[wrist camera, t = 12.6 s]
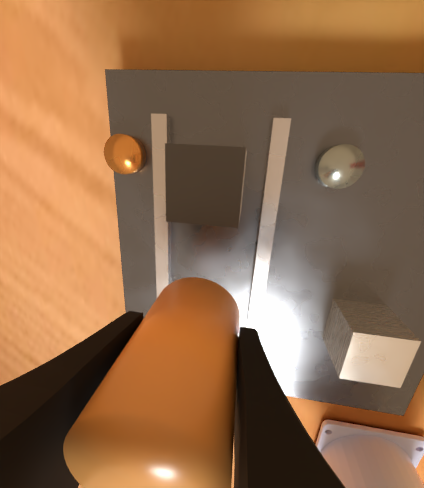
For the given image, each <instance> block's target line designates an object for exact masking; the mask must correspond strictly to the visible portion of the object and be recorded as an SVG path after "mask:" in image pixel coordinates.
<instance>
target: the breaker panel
mask: <svg viewBox="0 0 424 488" xmlns="http://www.w3.org/2000/svg"><path fill="white" fill-rule="evenodd" d="M105 75H106V86H107V98H108V110H109V121H110V133H111V137H110V138H109V139H108V140H107V142H106V144H105V147H104V156H105V159H106V162H107V164H108V165H109V167H110V168H111V169H112V170H114V180H115V192H116V204H117V215H118V227H119V239H120V251H121V262H122V274H123V286H124V297H125V309H126V313H127V312H128V311H134V312H141V313H143V319H144V317H145V316H146V314H147V313H148V311H149V310H150V308H151V307H152V305H153V304H154V302H155V301H156V299H157V298H158V296H159V295H160V293H161V292H162V290H163V289H164V288H165V287H166V286H167V285H169V284H170V283H172V282H174V281H176V280H179V279H182V278H187V277H198V278H204V279H207V280H211V281H213V282H215V283H217V284H219V285H221V286H222V287H223V288H225V289H226V290H227V291H228V292H229V293H230V294H231V295H232V297H233V298H234V300H235V301H236V303H237V305H238V308H239V312H240V326H241V327H248V328H255V329H256V330H257V331H258V334H259V337H260V340H261V343H262V346H263V348H264V351H265V353H266V356H267V358H268V361H269V363H270V365H271V367H272V369H273V371H274V374H275V376H276V378H277V380H278V382H279V384H280V386H281V388H282V390H283V391H284V393H285V395H286V396H291V397H297V398H303V399H309V400H314V401H320V402H326V403H332V404H338V405H343V406H349V407H355V408H361V409H367V410H373V411H378V412H384V413H390V414H396V415H402V416H404V414H405V412H406V409H407V407H408V405H409V403H410V401H411V399H412V397H413V395H414V393H415V391H416V388H417V386H418V384H419V382H420V380H421V378H422V376H423V374H424V73H369V72H282V71H195V70H108V69H105ZM165 143H171V144H191V145H211V146H231V147H246V150H247V155H246V165H245V176H244V186H243V197H242V207H241V214H240V220H239V227H238V228H232V227H221V226H210V225H199V224H188V223H177V222H166V186H165ZM239 331H240V330H239Z"/></svg>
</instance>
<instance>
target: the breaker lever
mask: <svg viewBox="0 0 424 488" xmlns="http://www.w3.org/2000/svg"><path fill="white" fill-rule="evenodd" d="M246 155H247V150H246V147H231V146H211V145H191V144H171V143H165V186H166V222H177V223H188V224H199V225H210V226H221V227H232V228H238V227H239V220H240V214H241V207H242V197H243V186H244V176H245V165H246Z"/></svg>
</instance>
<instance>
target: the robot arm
mask: <svg viewBox="0 0 424 488" xmlns="http://www.w3.org/2000/svg"><path fill="white" fill-rule="evenodd" d="M142 320H143V313H141V312H134V311H128V312H127V313H125V314H123V315H122V316H120V317H119V318H117V319H116V320H114V321H113V322H111V323H110V324H108V325H107V326H105V327H104V328H102V329H101V330H99V331H98V332H96V333H94V334H93V335H91V336H90V337H88V338H87V339H85V340H84V341H82V342H80V343H79V344H77V345H75V346H74V347H72V348H70V349H69V350H67V351H65V352H64V353H62V354H60V355H59V356H57V357H55V358H54V359H52V360H50V361H48V362H46V363H45V364H43V365H41V366H39V367H37V368H35V369H33V370H31V371H29V372H27V373H26V374H24V375H22V376H20V377H18V378H16V379H14V380H12V381H10V382H7V383H5V384H3V385H1V386H0V488H78V486H79V483H78V482H77V480H76V479H75V478H74V477H73V475H72V474H71V472H70V470H69V468H68V466H67V464H66V461H65V458H64V453H63V444H64V440H65V437H66V435H67V434H68V432H69V430H70V429H71V427H72V426H73V424H74V423H75V421H76V420H77V418H78V417H79V415H80V414H81V412H82V411H83V409H84V408H85V406H86V405H87V403H88V402H89V400H90V399H91V397H92V396H93V394H94V393H95V391H96V390H97V388H98V387H99V385H100V384H101V382H102V381H103V379H104V377H105V376H106V374H107V373H108V371H109V370H110V368H111V367H112V365H113V364H114V362H115V361H116V359H117V358H118V356H119V355H120V353H121V352H122V350H123V349H124V347H125V346H126V344H127V343H128V341H129V340H130V338H131V337H132V335H133V334H134V332H135V331H136V329H137V328H138V326H139V325H140V323H141V322H142ZM423 454H424V437H422V436H417V435H412V434H406V433H401V432H395V431H390V430H384V429H378V428H373V427H367V426H362V425H356V424H351V423H345V422H339V421H334V420H324V421H323V422H322V425H321V428H320V432H319V435H318V438H317V441H316V444H315V443H314V442H313V440H312V439H311V437H310V436H309V434H308V433H307V431H306V429H305V428H304V426H303V425H302V423H301V421H300V420H299V418H298V416H297V415H296V413H295V411H294V410H293V408H292V406H291V404H290V403H289V401H288V399H287V397H286V395H285V393H284V391H283V390H282V388H281V386H280V384H279V382H278V380H277V378H276V376H275V374H274V371H273V369H272V367H271V365H270V363H269V361H268V358H267V356H266V353H265V351H264V348H263V346H262V343H261V340H260V337H259V334H258V331H257V330H256V329H255V328H248V327H241V326H240V331H239V342H238V365H237V385H236V404H235V422H234V455H235V470H234V488H424V484H423V482H422V480H421V478H420V476H419V474H418V472H417V471H416V467H417V465H418V463H419V461H420V460H421V458H422V456H423Z"/></svg>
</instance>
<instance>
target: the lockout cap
mask: <svg viewBox="0 0 424 488" xmlns="http://www.w3.org/2000/svg"><path fill="white" fill-rule="evenodd" d="M239 330H240V312H239V308H238V305H237V303H236V301H235V300H234V298H233V297H232V295H231V294H230V293H229V292H228V291H227V290H226V289H225V288H223V287H222V286H221V285H219V284H217V283H215V282H213V281H211V280H207V279H204V278H198V277H187V278H182V279H179V280H176V281H174V282H172V283H170V284H169V285H167V286H166V287H165V288H164V289H163V290H162V292H161V293H160V295H159V296H158V298H157V299H156V301H155V302H154V304H153V305H152V307H151V308H150V310H149V311H148V313H147V314H146V316H145V317H144V319H143V320H142V322H141V323H140V325H139V326H138V328H137V329H136V331H135V332H134V334H133V335H132V337H131V338H130V340H129V341H128V343H127V344H126V346H125V347H124V349H123V350H122V352H121V353H120V355H119V356H118V358H117V359H116V361H115V362H114V364H113V365H112V367H111V368H110V370H109V371H108V373H107V374H106V376H105V377H104V379H103V381H102V382H101V384H100V385H99V387H98V388H97V390H96V391H95V393H94V394H93V396H92V397H91V399H90V400H89V402H88V403H87V405H86V406H85V408H84V409H83V411H82V412H81V414H80V415H79V417H78V418H77V420H76V421H75V423H74V424H73V426H72V427H71V429H70V430H69V432H68V434H67V435H66V437H65V440H64V444H63V453H64V458H65V461H66V464H67V466H68V468H69V470H70V472H71V474H72V475H73V477H74V478H75V479H76V480H77V482H78V483H79V484H80V485H81V486H82V487H83V488H231V478H232V459H233V441H234V422H235V404H236V385H237V365H238V342H239Z"/></svg>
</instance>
